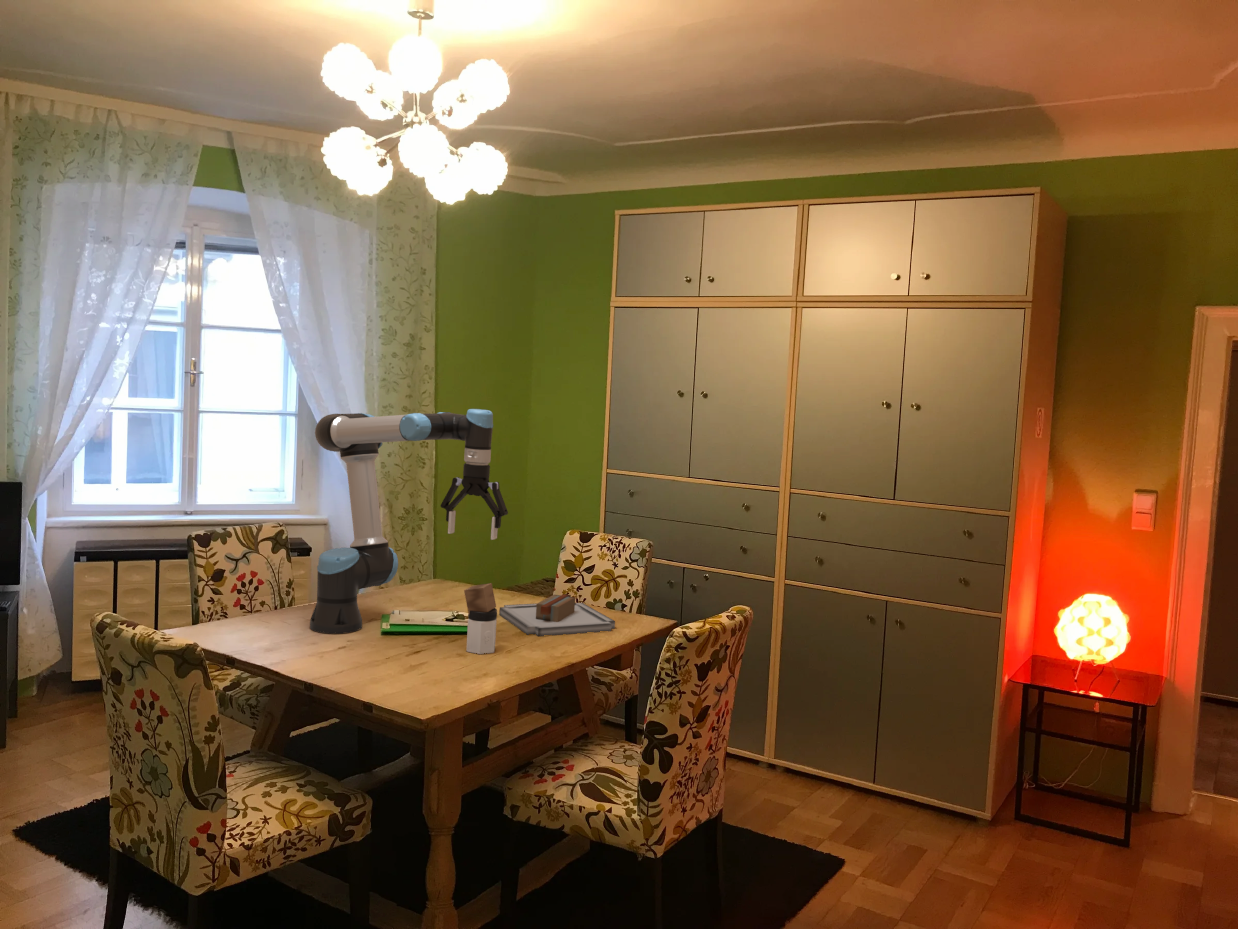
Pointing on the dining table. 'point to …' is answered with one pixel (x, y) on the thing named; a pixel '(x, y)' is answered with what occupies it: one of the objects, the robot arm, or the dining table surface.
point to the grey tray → (556, 617)
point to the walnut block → (480, 598)
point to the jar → (481, 631)
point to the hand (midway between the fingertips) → (472, 536)
